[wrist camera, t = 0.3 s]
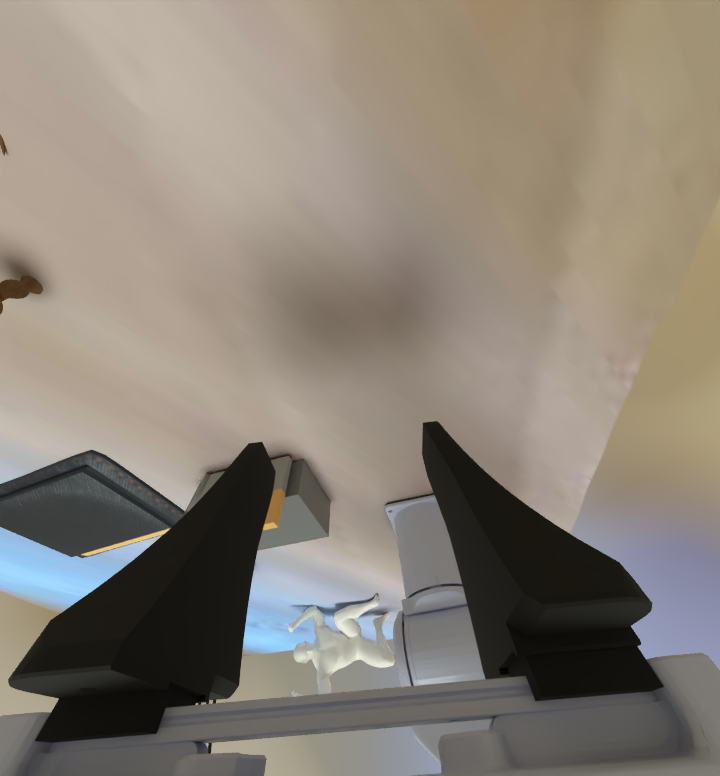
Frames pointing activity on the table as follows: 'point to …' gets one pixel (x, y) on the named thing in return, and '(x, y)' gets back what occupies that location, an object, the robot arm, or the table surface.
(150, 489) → the wallet
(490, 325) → the table surface
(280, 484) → the side hatch
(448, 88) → the table surface
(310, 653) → the person figurine
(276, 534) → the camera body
